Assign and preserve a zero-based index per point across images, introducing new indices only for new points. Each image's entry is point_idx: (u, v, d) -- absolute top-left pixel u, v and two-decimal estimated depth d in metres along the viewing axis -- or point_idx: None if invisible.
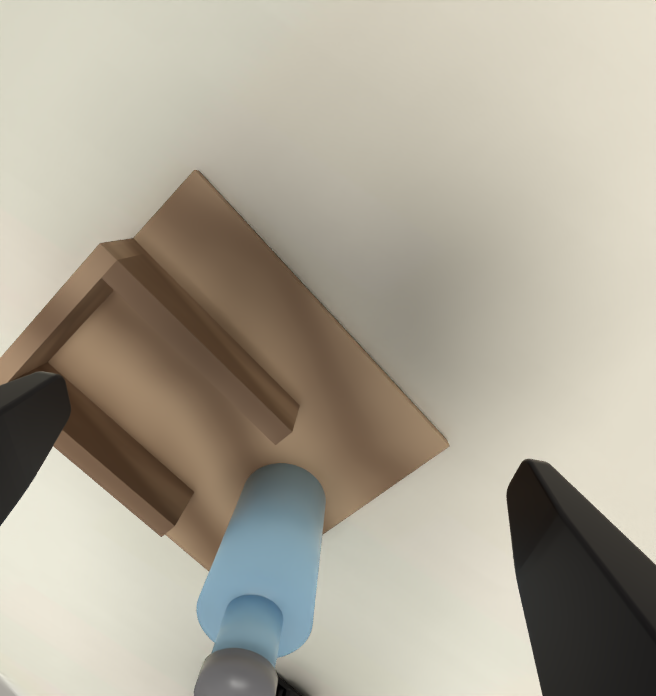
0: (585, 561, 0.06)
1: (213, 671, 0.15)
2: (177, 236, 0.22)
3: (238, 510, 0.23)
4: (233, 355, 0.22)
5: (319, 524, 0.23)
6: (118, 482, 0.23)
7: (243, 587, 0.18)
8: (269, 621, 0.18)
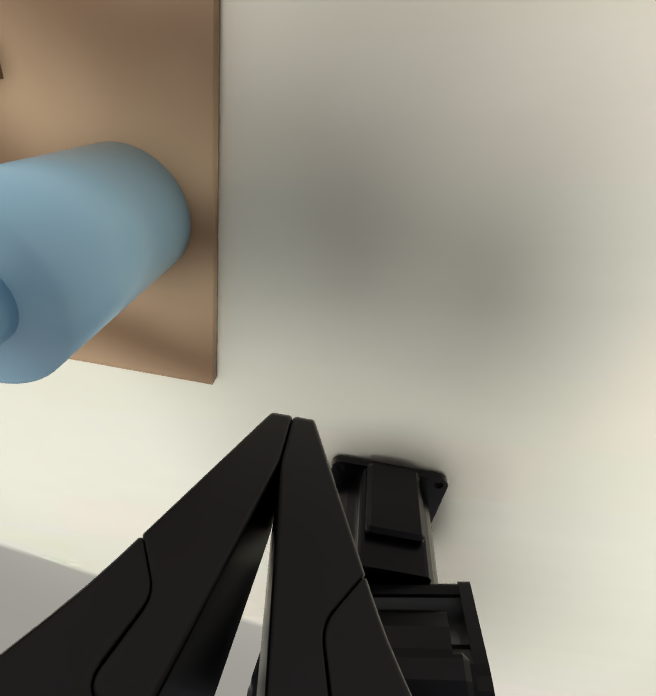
0: (276, 505, 0.06)
1: None
2: None
3: None
4: None
5: (106, 167, 0.13)
6: None
7: None
8: None
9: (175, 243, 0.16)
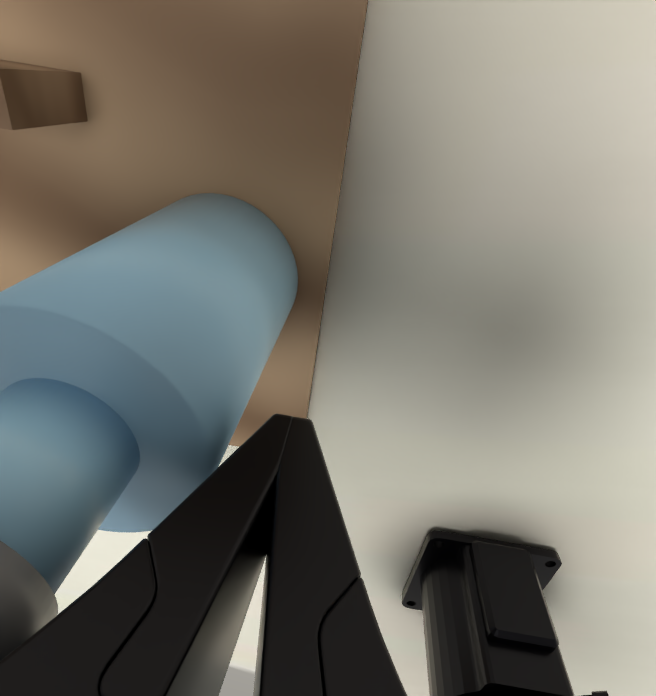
0: (273, 505, 0.06)
1: None
2: None
3: None
4: None
5: (224, 236, 0.11)
6: None
7: None
8: (7, 415, 0.06)
9: (286, 316, 0.13)
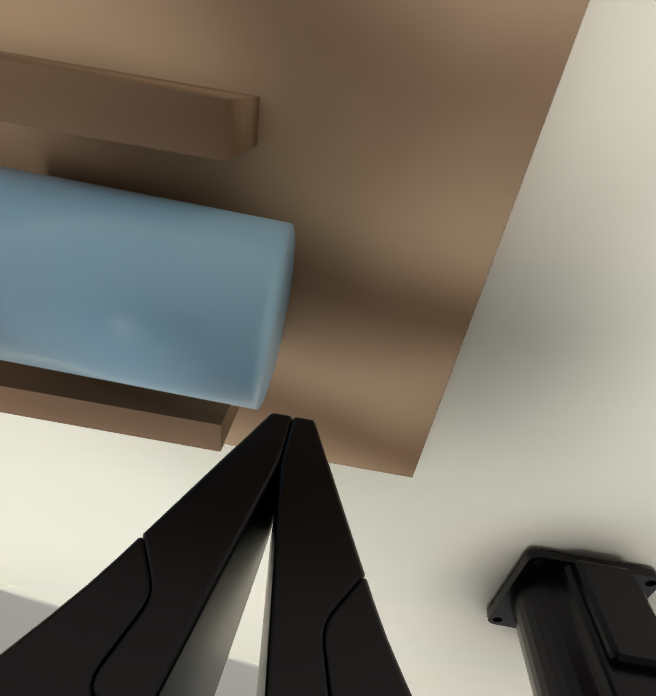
0: (276, 505, 0.06)
1: None
2: None
3: None
4: (50, 63, 0.10)
5: (151, 224, 0.10)
6: (102, 409, 0.14)
7: None
8: None
9: (185, 365, 0.10)
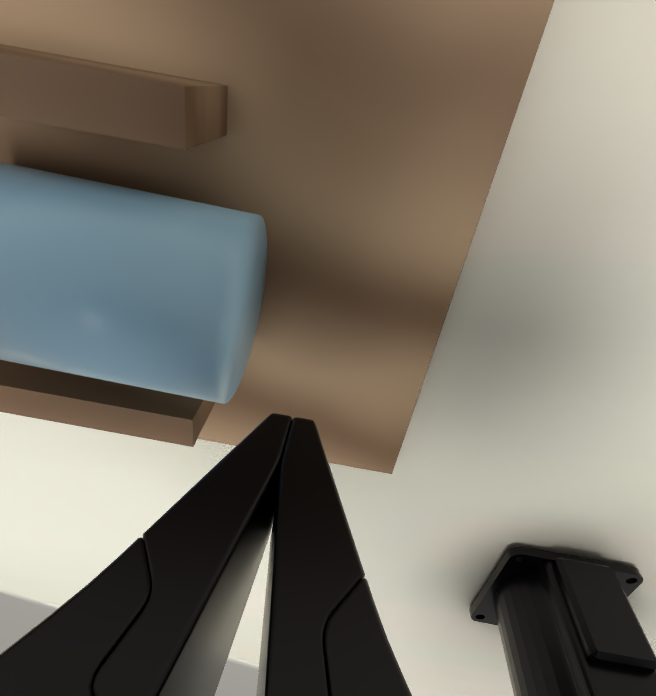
0: (276, 505, 0.06)
1: None
2: None
3: None
4: (10, 49, 0.10)
5: (111, 214, 0.10)
6: (72, 403, 0.14)
7: None
8: None
9: (146, 358, 0.10)
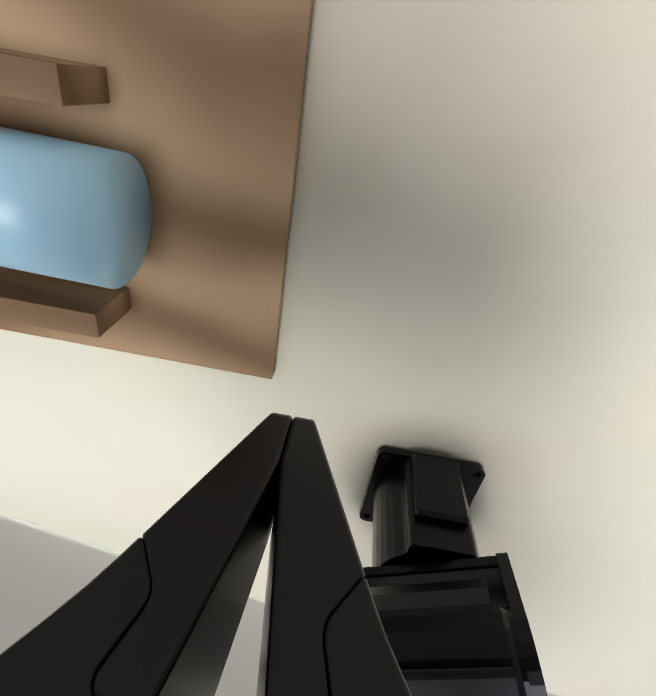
0: (276, 505, 0.06)
1: None
2: None
3: None
4: None
5: (17, 143, 0.15)
6: (7, 303, 0.19)
7: None
8: None
9: (37, 238, 0.15)
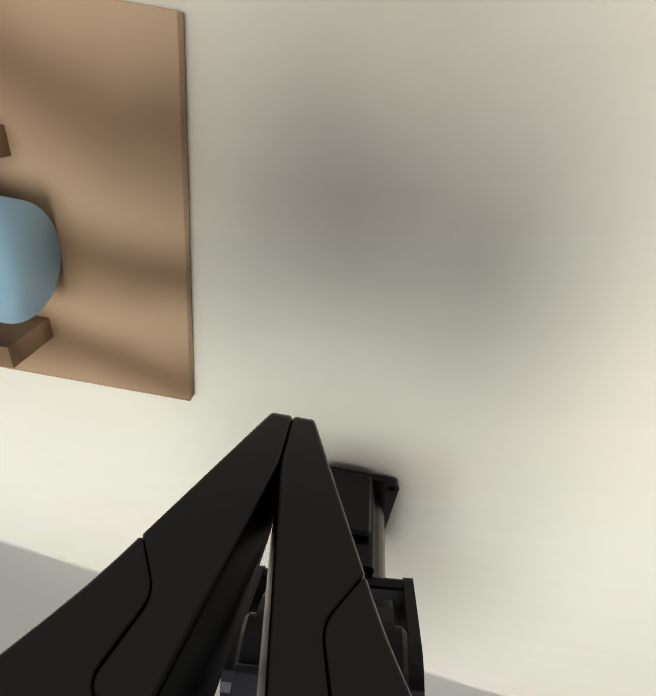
0: (276, 505, 0.06)
1: None
2: None
3: None
4: None
5: None
6: None
7: None
8: None
9: None
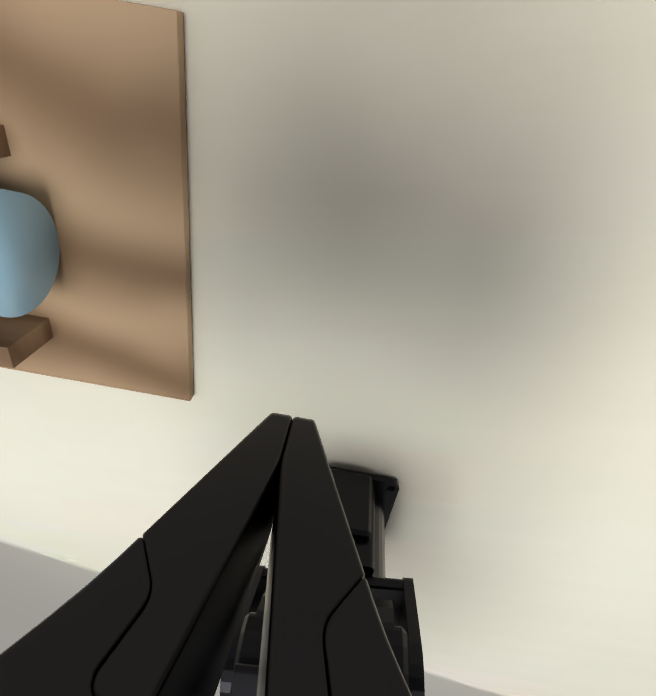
0: (276, 505, 0.06)
1: None
2: None
3: None
4: None
5: None
6: None
7: None
8: None
9: None
